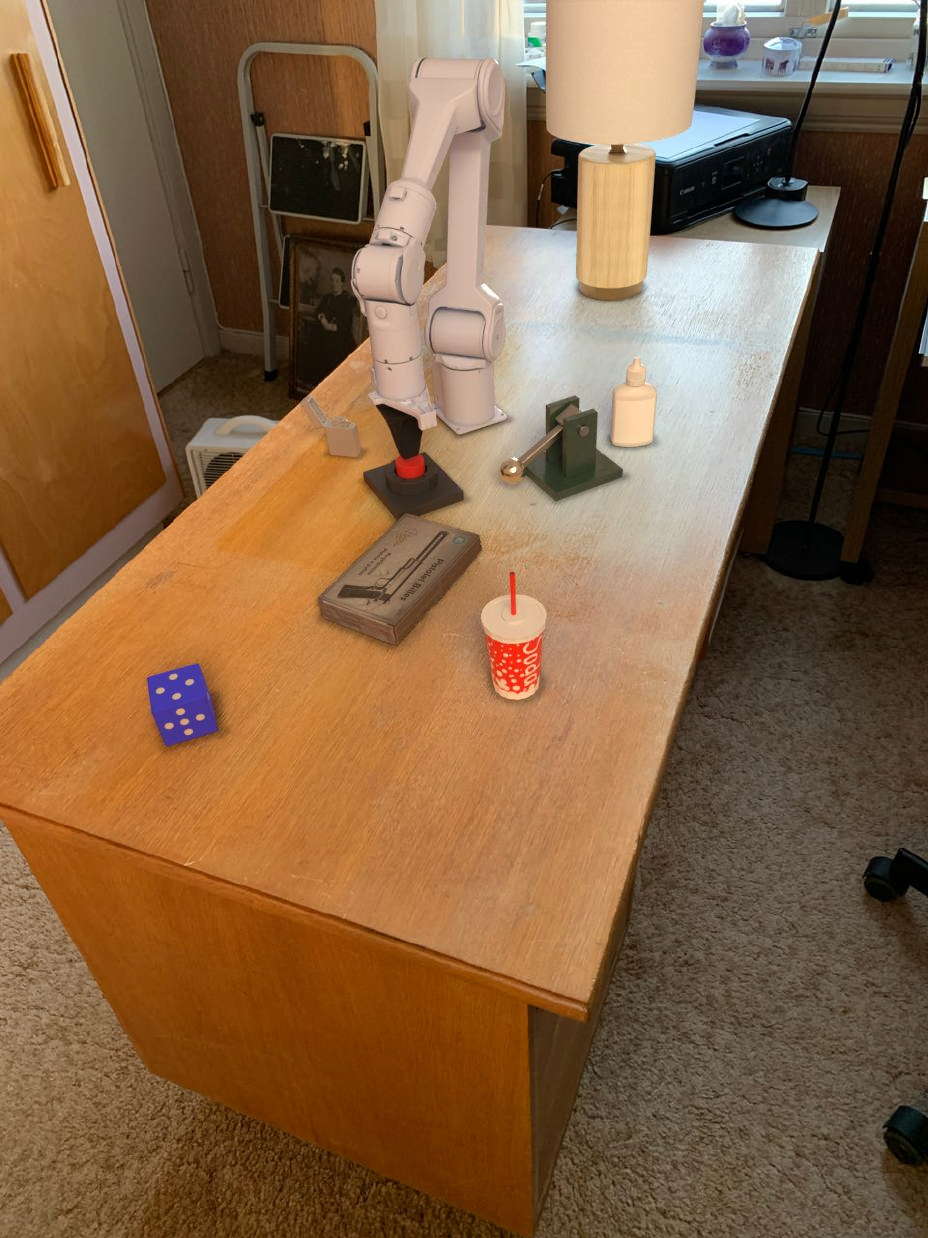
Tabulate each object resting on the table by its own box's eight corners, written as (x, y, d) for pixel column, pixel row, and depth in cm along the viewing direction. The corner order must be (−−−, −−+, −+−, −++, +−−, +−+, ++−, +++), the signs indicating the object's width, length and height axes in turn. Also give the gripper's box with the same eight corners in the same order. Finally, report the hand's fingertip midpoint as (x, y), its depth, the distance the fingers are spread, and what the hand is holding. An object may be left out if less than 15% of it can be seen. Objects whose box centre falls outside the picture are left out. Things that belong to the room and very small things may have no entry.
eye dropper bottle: (645, 453, 120) (652, 368, 112) (605, 444, 122) (609, 361, 114) (656, 437, 123) (664, 354, 115) (617, 429, 125) (622, 346, 117)
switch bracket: (555, 501, 113) (556, 435, 107) (519, 468, 119) (517, 404, 113) (622, 476, 116) (626, 411, 110) (583, 445, 123) (585, 382, 116)
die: (218, 732, 88) (205, 696, 85) (166, 747, 87) (150, 712, 84) (211, 697, 92) (198, 661, 88) (161, 711, 91) (146, 676, 87)
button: (392, 469, 116) (390, 457, 115) (417, 460, 117) (416, 449, 116) (404, 482, 113) (402, 470, 112) (430, 473, 115) (428, 461, 113)
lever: (514, 493, 113) (503, 477, 111) (501, 481, 115) (491, 465, 113) (591, 427, 113) (582, 410, 111) (577, 416, 115) (568, 399, 113)
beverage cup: (501, 713, 88) (495, 603, 78) (475, 673, 92) (467, 564, 82) (558, 692, 89) (559, 582, 80) (529, 653, 93) (527, 544, 84)
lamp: (586, 255, 173) (595, -31, 143) (698, 276, 162) (732, -28, 133) (521, 298, 160) (515, -6, 130) (638, 325, 149) (661, 0, 119)
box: (484, 554, 105) (482, 532, 103) (398, 648, 95) (394, 626, 93) (408, 531, 110) (404, 509, 108) (319, 618, 100) (313, 596, 98)
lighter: (361, 450, 125) (353, 397, 120) (357, 457, 124) (348, 404, 119) (314, 445, 127) (303, 393, 122) (309, 452, 126) (298, 400, 120)
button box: (364, 480, 119) (361, 459, 117) (425, 460, 122) (423, 439, 120) (399, 522, 112) (396, 501, 110) (464, 499, 115) (462, 478, 113)
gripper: (341, 338, 108) (357, 438, 117) (391, 387, 98) (404, 492, 108) (394, 323, 110) (406, 422, 119) (449, 369, 101) (457, 474, 110)
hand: (409, 454), depth 114 cm, fingers closed
